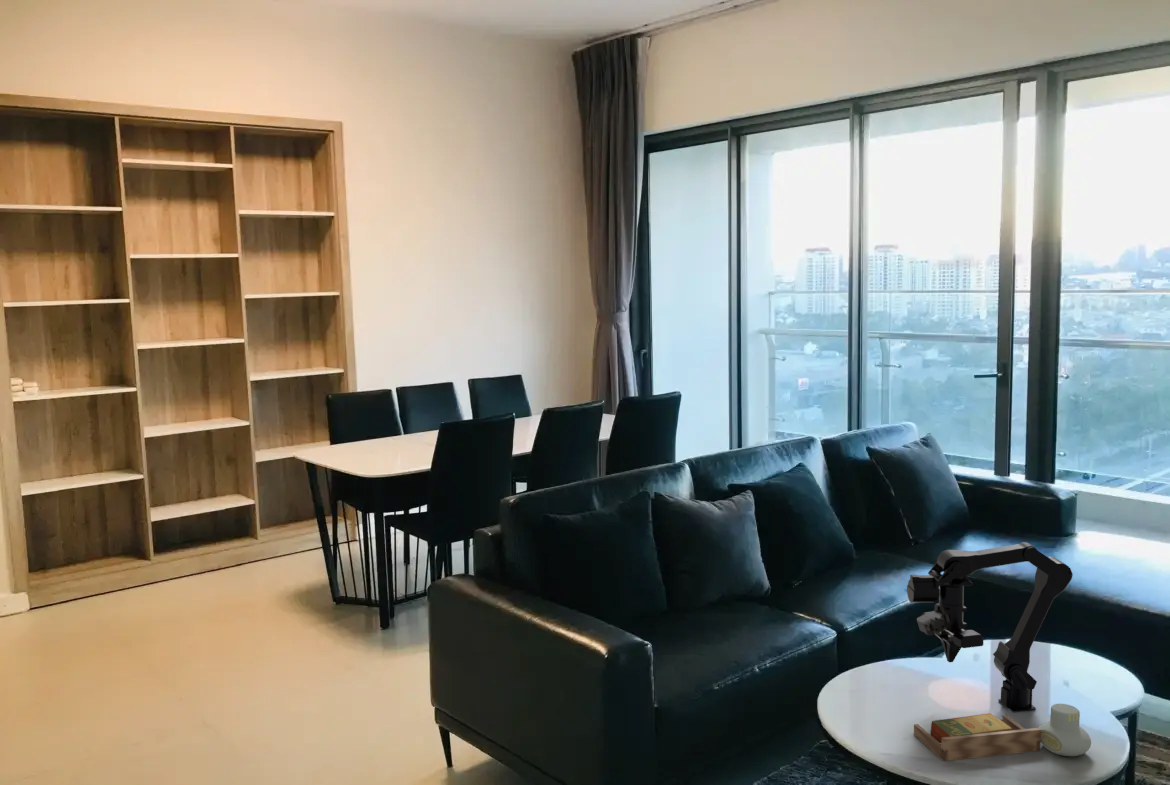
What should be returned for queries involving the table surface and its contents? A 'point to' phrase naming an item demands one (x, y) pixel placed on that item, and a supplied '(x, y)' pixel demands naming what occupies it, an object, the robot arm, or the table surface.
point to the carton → (967, 726)
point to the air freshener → (1065, 732)
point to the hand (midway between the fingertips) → (950, 661)
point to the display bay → (983, 742)
